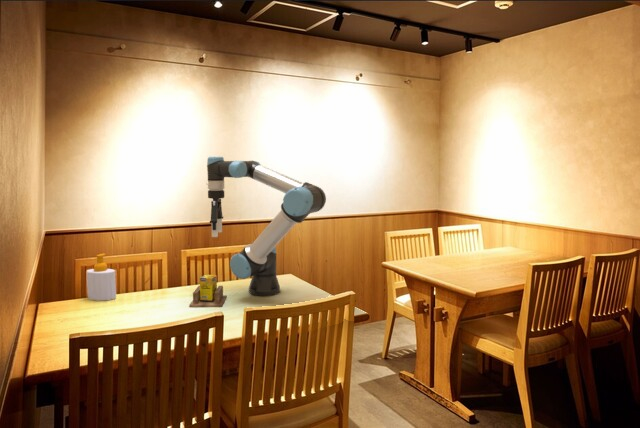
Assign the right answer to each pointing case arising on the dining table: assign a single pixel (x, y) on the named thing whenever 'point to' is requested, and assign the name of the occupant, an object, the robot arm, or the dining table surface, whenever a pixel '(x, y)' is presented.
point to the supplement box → (208, 288)
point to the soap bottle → (101, 281)
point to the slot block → (216, 303)
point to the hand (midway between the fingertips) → (217, 234)
